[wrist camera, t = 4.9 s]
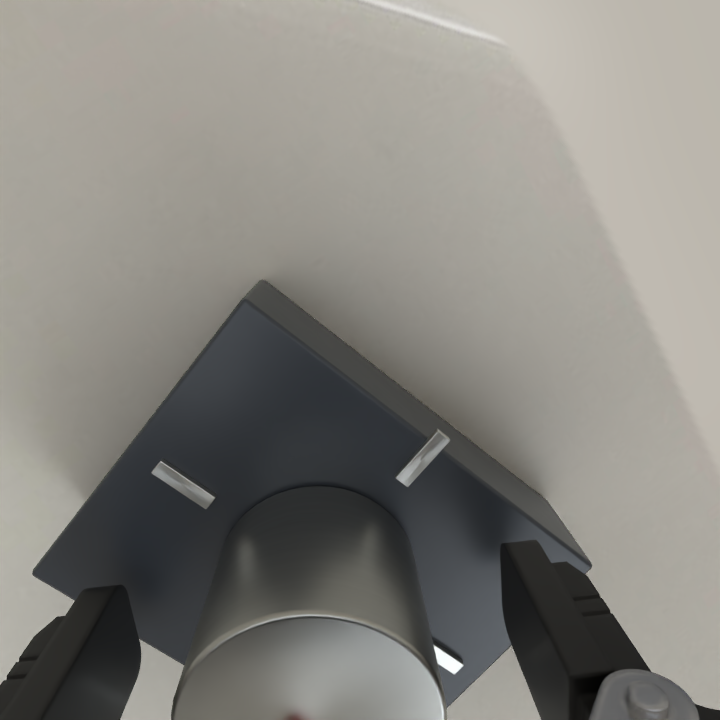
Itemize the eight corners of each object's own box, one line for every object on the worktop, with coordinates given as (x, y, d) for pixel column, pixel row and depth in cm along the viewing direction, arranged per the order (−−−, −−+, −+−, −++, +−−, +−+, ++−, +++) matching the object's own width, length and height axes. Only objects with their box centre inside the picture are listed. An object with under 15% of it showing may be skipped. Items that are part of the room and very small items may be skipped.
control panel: (556, 493, 16) (607, 561, 13) (361, 691, 18) (367, 793, 15) (269, 267, 14) (251, 286, 11) (79, 513, 16) (17, 589, 13)
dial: (297, 446, 12) (278, 574, 8) (454, 555, 13) (510, 721, 9) (180, 589, 13) (107, 773, 9) (335, 683, 14) (335, 890, 10)
